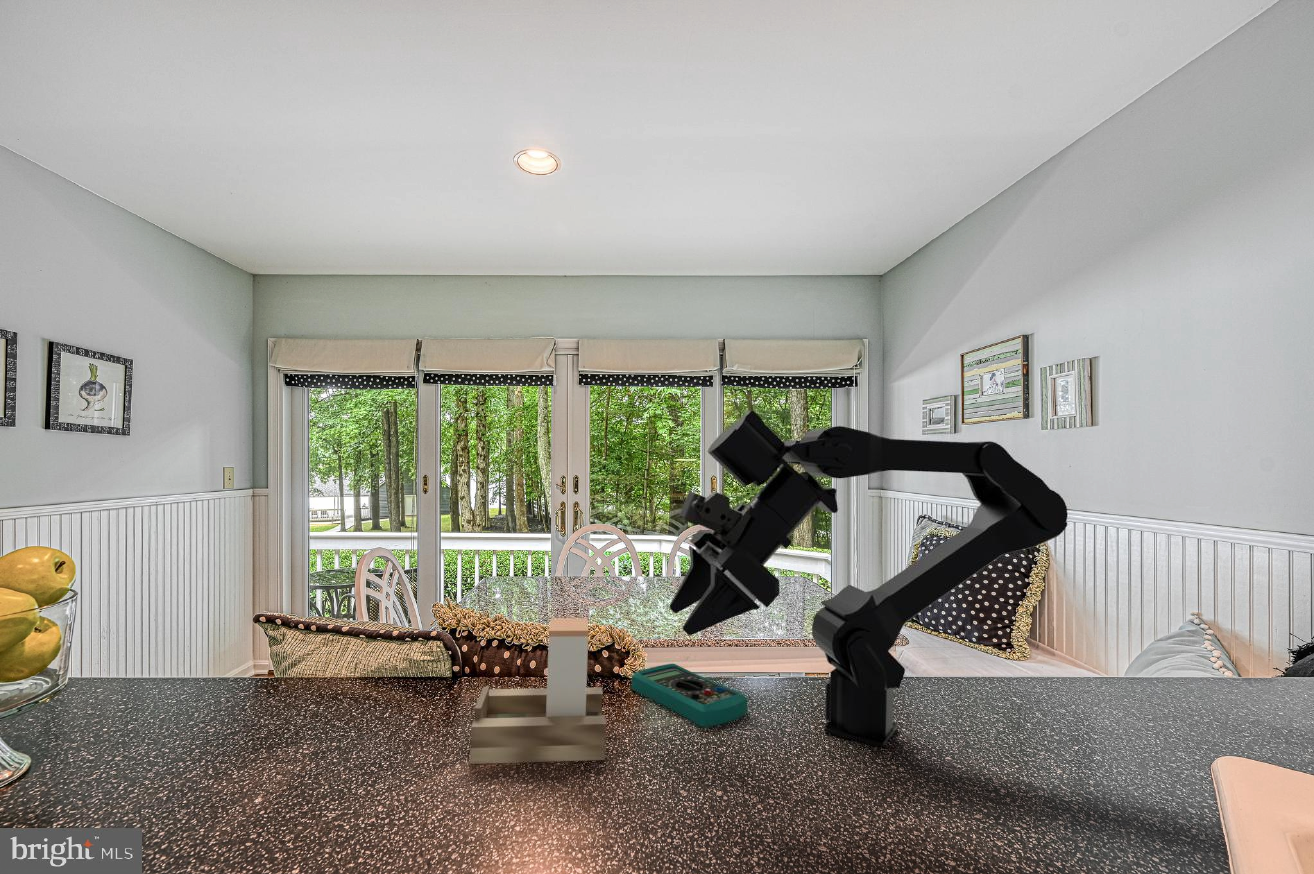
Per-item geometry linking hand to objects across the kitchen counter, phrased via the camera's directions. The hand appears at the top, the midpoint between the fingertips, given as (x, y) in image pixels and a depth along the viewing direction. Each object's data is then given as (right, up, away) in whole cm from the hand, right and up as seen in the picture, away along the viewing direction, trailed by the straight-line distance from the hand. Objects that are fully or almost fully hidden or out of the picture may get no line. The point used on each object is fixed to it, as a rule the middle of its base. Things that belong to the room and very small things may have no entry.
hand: (678, 620), depth 69 cm
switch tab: (-12, -10, -2) cm, 16 cm away
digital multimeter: (+1, -13, +10) cm, 17 cm away
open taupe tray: (-15, -12, -2) cm, 19 cm away
